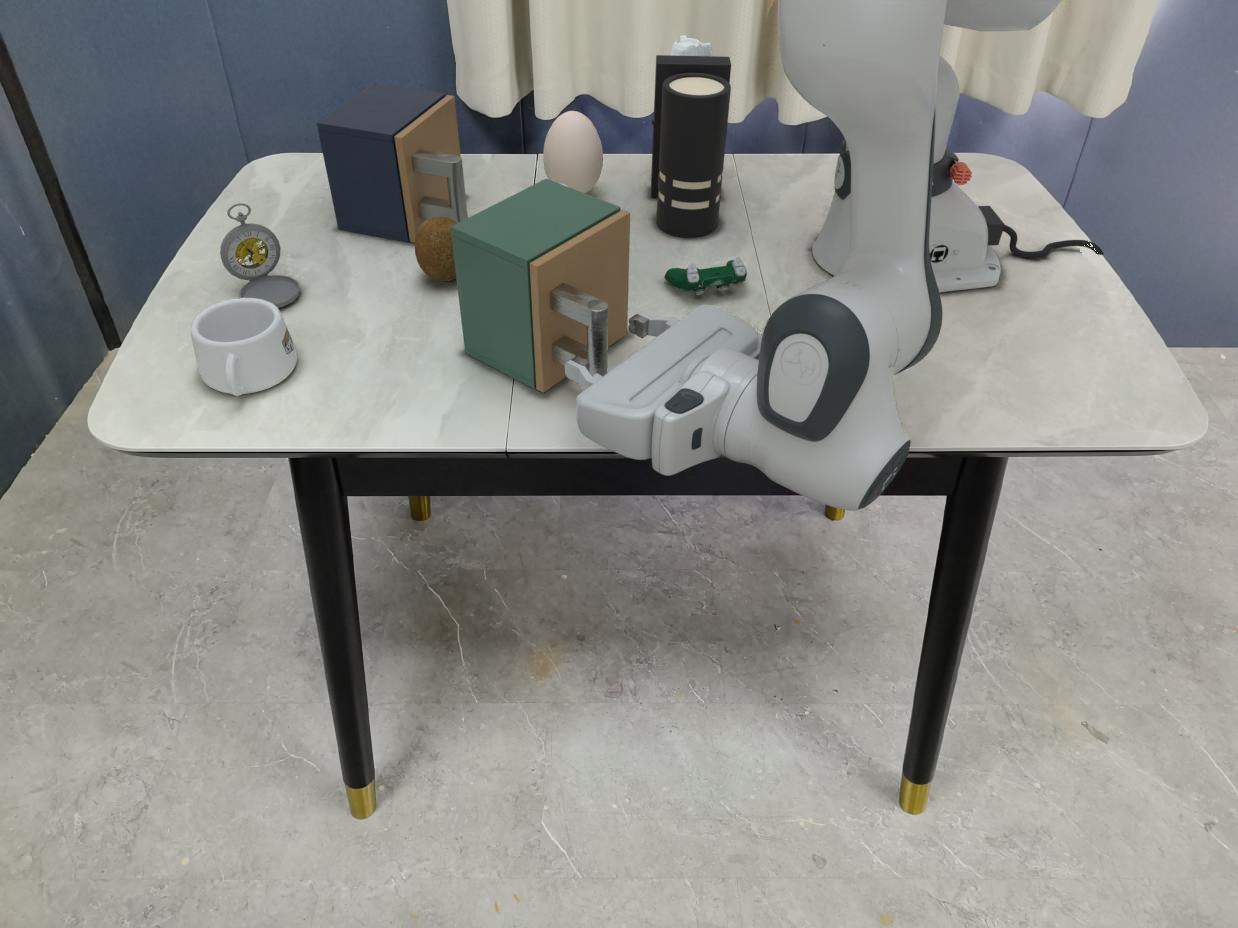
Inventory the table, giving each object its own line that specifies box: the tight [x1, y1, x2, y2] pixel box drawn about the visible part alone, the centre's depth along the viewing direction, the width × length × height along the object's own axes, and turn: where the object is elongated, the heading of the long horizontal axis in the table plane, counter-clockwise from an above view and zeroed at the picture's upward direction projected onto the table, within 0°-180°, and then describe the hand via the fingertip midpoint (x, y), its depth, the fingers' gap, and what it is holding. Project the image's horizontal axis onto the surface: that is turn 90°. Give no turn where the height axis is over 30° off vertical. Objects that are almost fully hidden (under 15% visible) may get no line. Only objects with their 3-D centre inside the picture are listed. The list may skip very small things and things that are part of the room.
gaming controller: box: [663, 256, 748, 296], centre depth 108 cm, size 9×4×6 cm
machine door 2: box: [530, 209, 631, 393], centre depth 92 cm, size 7×14×14 cm, turn 142°
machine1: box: [316, 82, 447, 243], centre depth 117 cm, size 10×14×14 cm
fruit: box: [413, 216, 457, 282], centre depth 107 cm, size 6×6×8 cm
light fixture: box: [650, 54, 732, 238], centre depth 117 cm, size 10×14×18 cm
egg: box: [542, 110, 604, 194], centre depth 123 cm, size 8×8×11 cm
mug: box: [189, 297, 298, 397], centre depth 93 cm, size 12×10×6 cm
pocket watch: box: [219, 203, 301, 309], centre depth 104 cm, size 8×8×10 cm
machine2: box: [451, 178, 622, 390], centre depth 96 cm, size 10×14×15 cm
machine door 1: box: [394, 94, 469, 243], centre depth 116 cm, size 7×14×14 cm, turn 162°
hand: (602, 342), depth 88 cm, fingers open, 8 cm apart
